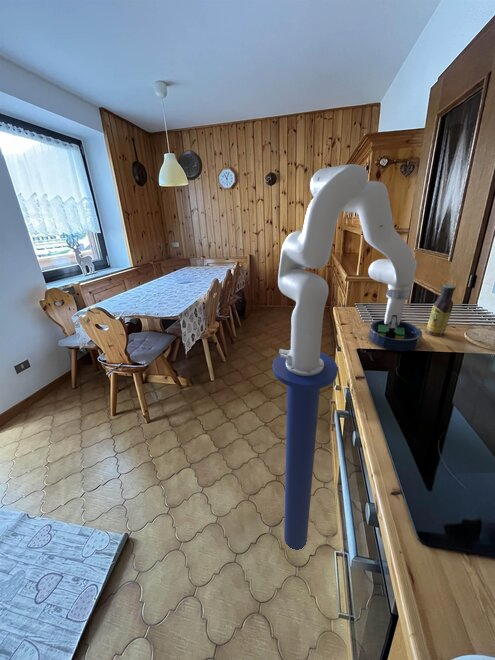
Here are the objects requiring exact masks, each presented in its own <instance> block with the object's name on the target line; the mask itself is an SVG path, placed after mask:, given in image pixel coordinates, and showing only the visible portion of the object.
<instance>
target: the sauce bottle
mask: <svg viewBox="0 0 495 660" xmlns="http://www.w3.org/2000/svg"><path fill="white" fill-rule="evenodd" d="M456 288H457V287H456V286H455V285H453V284H447V283H446V284H443V285H442V286H441V291H440V294H439V297H438V298H437V299H436V300H435V302H434V303H433V305H432V308H431V311H430V314H429V317H428V318H429V319H428V322H427V325H426V333H427V334H429V335H431V336H436V337H441V336H443V335H444V334H445V332H446V330H447V326H448V323H449V320H450V317H451V314H452V311H453V307H454V301H453V295H454V293H455V291H456Z"/></svg>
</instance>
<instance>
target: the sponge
mask: <svg viewBox="0 0 495 660" xmlns="http://www.w3.org/2000/svg"><path fill="white" fill-rule="evenodd" d="M390 327H391V326H390ZM387 329H388V326H385V325H379V326H378V332H377V333H379V334H380V335H383V336H385V335H386V331H387ZM404 336H405V332H404V328H400V327H396V335H395V339H404Z"/></svg>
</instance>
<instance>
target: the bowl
mask: <svg viewBox="0 0 495 660" xmlns="http://www.w3.org/2000/svg"><path fill="white" fill-rule="evenodd" d="M384 321H385V319H378V320H376V321H373V322H372V323H371V324H370V326H369V333H368V338H369V340H370V342H371V343H372V344H374V345H376V346H377V347H379V348H382V349H385V350H387V351H393V352H409V351H414V350H416V349H418V348H419V347H420V345H421V341H422V337H423V331H422V330H421V328H420V327H418V326H416V325H415V324H412V323H410V322H408V321H402V320H400V323H399V325H398V326H397V327H400V328H404V332H405V336H404V339H394V338H389V337H386V336H383V335H380V334H379V333H377V332H378V326H379V325H385V326H387V324H385V323H384Z"/></svg>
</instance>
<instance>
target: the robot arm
mask: <svg viewBox="0 0 495 660" xmlns="http://www.w3.org/2000/svg"><path fill="white" fill-rule="evenodd" d="M368 179H369V174H368V170H367V169H366V168H365V166H363V165H361V164H356V163H349V164H340V165H336V166H328V167H323V168H321V169H319V170H317V171H316V172H315V173H314V174H313V175H312V177H311V179H310V182H309V188H310V190H309V191H310V193H311V195H312V197H313V198H312V199H311V201H310V202H309V204H308V207H307V209H306V212H305V215H304V221H303V227H302V230H296V231H293V232H291V233H290V234H288V236H287V237H286V238H285V239H284V241H283V243H282V247H281V251H280V259H279V266H278V267H279V268H278V275H277V286H278V289H279V291H280V293H282V294H283V295H284V296H286V297H288V298H289V299H291V300H293V301H294V302H295V307H294V309H293V310H292V313H291V325H290V326H291V327H290V332H291V333H290V349H288V350H287V349H284V348H283V349H282V348H279V350H278V355H280V354H281V355H280V358H285V359H287V360H286V367H287V369H288V370H289V371H291V372H292V373H294V374H297V375H301V376H313V375H316V374H319V373H320V372H321V371H322V370H323V369H324V362H323V361H322V359H320V352H321V348H322V347H321V346H322V335H323V321H324V320H323V319H324V311H325V307H326V303H327V300H328V297H329V292H330V290H329V284H328V283H327V280H325V279H324V278H323V277H322V276H321V275H319V274H317V273H314V272H311V271H309V270H306V268H308V269H312V270H319V269H323V268H324V267H326V266H327V264H328V262H329V261H330V258H331V253H332V248H333V243H334V239H335V238H334V237H335V233H336V227H337V223H338V220H339V218H340V215H341V213H342V212H345V213H353V214H354V213H355V214H357V215H358V217H359V223H360V225H361V229H362V234H363V239H364V240H365V242H366V243H367V244H368V245H370V246H371V247H373V249H375V250H377V251H378V252H380V253H381V254H383V255H384V256H385V257H386V258H379V259H376V260H374V261H373V262H371V264H370V265H369V267H368V270H367V271H368V276H369V278H371V279H372V280H374V281H376V282H379V283H382V284H386V285H387V289H386V295H385V296H386V298H388V299H387V304H386V309H385V314H384V320H385V321H384V323H385V324H387V326H388V329H387V331H386V335H385V336H386V337H389V338H394V339H395V335H396V327H397V326H398V325H399V323H400V321H402V320H401V319H402V316H403V311H404V308H405V304H406V301H407V300H410V297H411V292H412V288H413V284H414V281H415V274H416V270H417V267H418V261H417V260H416V258H414V254H413V251H412V249H411V247H410V246H409V245H408V243H407V242H406V241H405V240H404V238H403V237H402V236H401V235H400V234H399V232H398V231H397V230H396V229H395V225H394V219H393V213H392V209H391V201H390V196H389V191H388V188H387V186H386V185H385V183H383V182H381V181H378V180H368ZM390 326H391V327H390Z"/></svg>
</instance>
